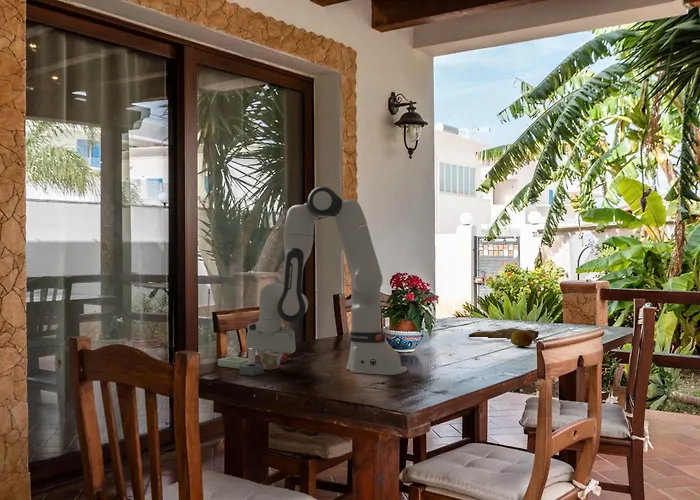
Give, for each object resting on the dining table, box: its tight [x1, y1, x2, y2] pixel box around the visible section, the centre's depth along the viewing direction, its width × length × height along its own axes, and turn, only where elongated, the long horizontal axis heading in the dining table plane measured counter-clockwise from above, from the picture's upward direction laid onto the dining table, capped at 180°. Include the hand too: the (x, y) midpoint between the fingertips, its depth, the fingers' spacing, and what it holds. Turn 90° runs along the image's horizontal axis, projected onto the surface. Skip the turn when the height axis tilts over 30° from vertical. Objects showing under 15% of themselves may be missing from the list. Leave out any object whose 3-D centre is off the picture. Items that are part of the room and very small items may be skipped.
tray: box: [217, 356, 248, 370], centre depth 264 cm, size 10×8×2 cm
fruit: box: [510, 329, 533, 347], centre depth 322 cm, size 10×9×8 cm
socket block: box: [239, 363, 265, 377], centre depth 248 cm, size 6×6×3 cm
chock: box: [261, 353, 280, 371], centre depth 260 cm, size 4×5×5 cm
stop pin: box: [247, 348, 256, 366], centre depth 248 cm, size 2×2×9 cm
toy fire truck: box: [280, 353, 291, 364], centre depth 278 cm, size 3×14×10 cm, turn 168°
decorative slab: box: [468, 327, 540, 341], centre depth 353 cm, size 32×22×5 cm
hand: (270, 363), depth 260 cm, fingers open, 5 cm apart
